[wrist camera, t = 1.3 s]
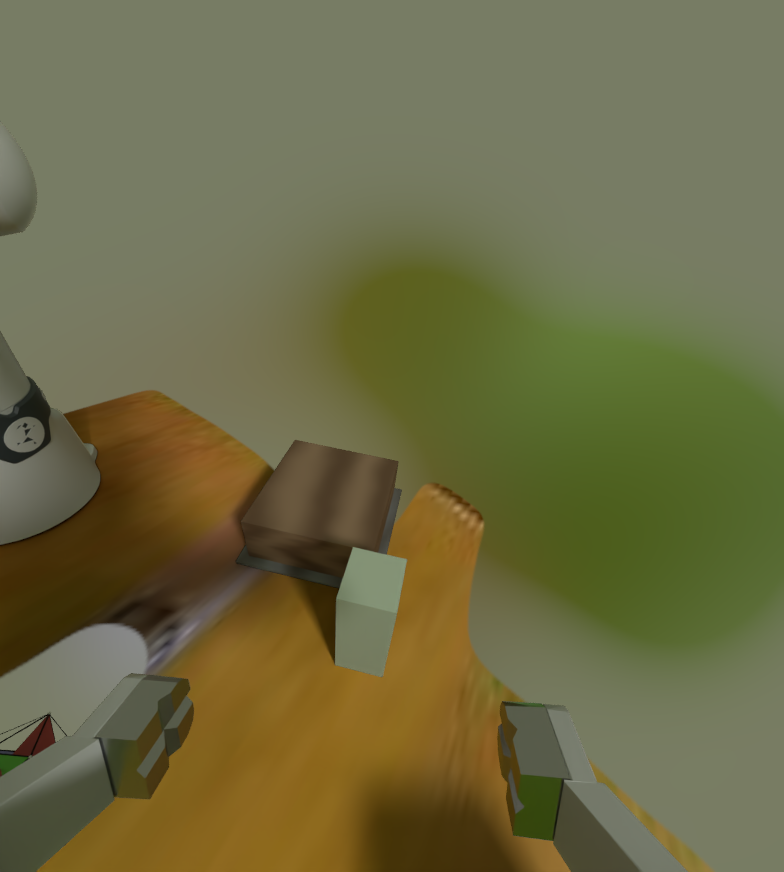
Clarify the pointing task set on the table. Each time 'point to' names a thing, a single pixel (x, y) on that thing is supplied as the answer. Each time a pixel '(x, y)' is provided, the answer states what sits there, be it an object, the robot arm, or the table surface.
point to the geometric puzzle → (28, 746)
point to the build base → (320, 513)
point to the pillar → (367, 610)
